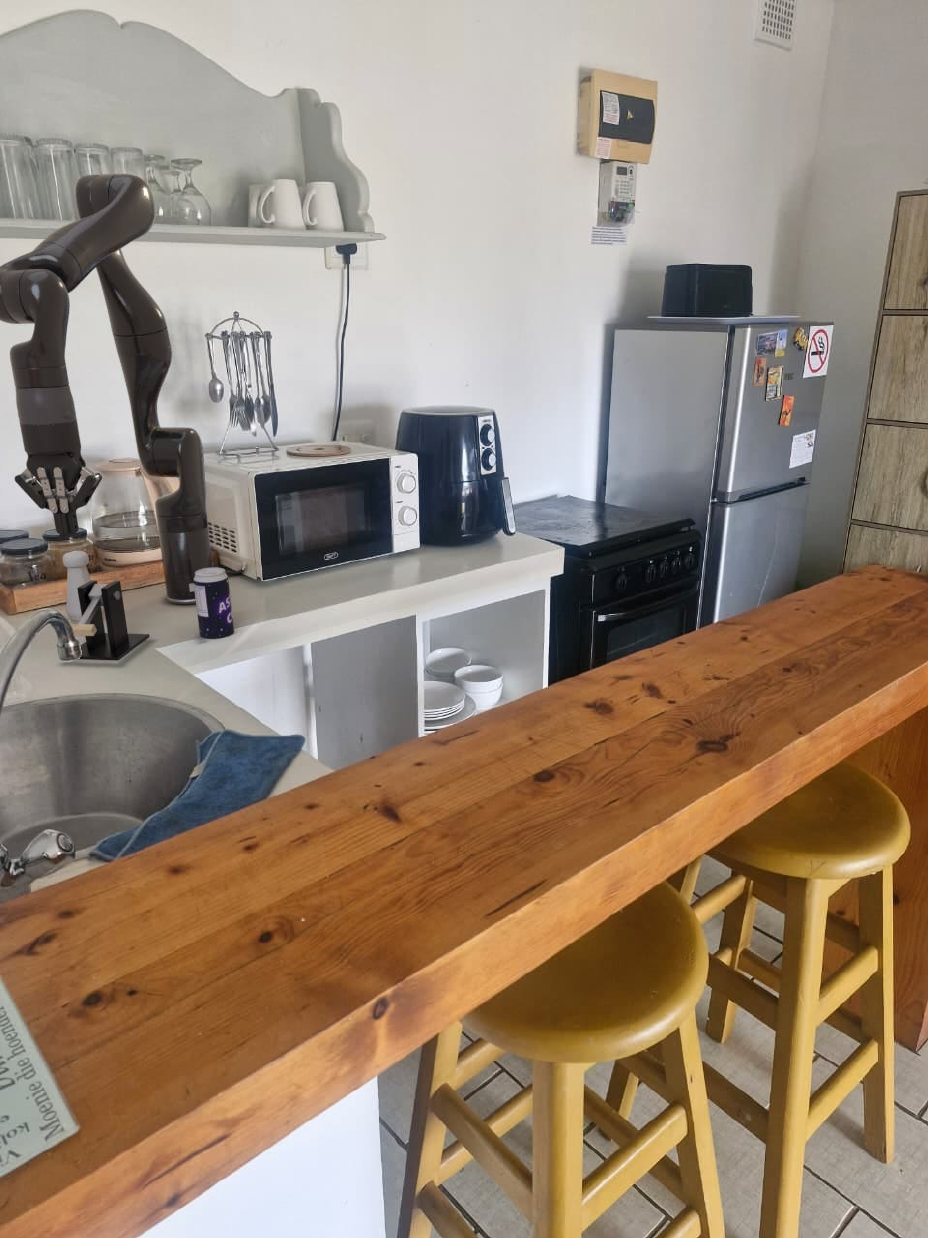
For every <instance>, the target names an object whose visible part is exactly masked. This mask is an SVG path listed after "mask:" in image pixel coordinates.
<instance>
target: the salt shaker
mask: <svg viewBox="0 0 928 1238" xmlns="http://www.w3.org/2000/svg"><path fill="white" fill-rule="evenodd" d="M89 563H90V557H89V554H88V553H87V552H86V551H82V550H73V551H69V552H66V553H64V555H63V556H62V564H63V566H64V567H66V568H67V575H66V576H67V578H66V579H67V580H66V606H65V607H66V610H65V612H66V614H67V616H68V617H69V619H70V620H72V621H77V622H79V621H80V620H81V618H82V614H81V608H80V602H79V596H78V590H77V588H78V587H80V586H82V585H84V584H86V583H88V582H89V581H91V580H92V579H91V577H90V573H89V570H88V568H87V565H89Z"/></svg>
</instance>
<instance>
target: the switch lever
mask: <svg viewBox="0 0 928 1238" xmlns="http://www.w3.org/2000/svg"><path fill="white" fill-rule="evenodd" d="M108 584H109V583H97V584H95V585H94V586H93V588H92V590H91V591H90V593H89V595H88V596H89V598H90V600H91V603H90V604H89V606H88V608H87V610H86V611H85V613H84V615H83V616H82V618H81V620H80V621H78V622H77V623H70V624H71V625H72V628H73V630H74V633H75V635H76V636H80V637H85V636H94V635H95V633H96V631H97V629H96V627H95V625H94V624H90V622H91V620H92V618H93V617H94V615H95V613H96V612H97V610H98V608H99V606H101V607H104V605H103V599H102V592H101V588H103V587H105V586H106V585H108Z"/></svg>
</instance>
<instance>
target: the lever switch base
mask: <svg viewBox="0 0 928 1238" xmlns="http://www.w3.org/2000/svg"><path fill="white" fill-rule="evenodd" d="M95 584H98V580H95V579H94V580H92V579H91V581H89V582H88V583H86V584H84V585H82V586H80V587H78V588H77V590H78V596H79V602H80V608H81V614H82V616H83V615H84V613H85V611H86V610H87V608H88V606H89V604H90V603H91V600H90V598H89V596H88V595H89V593H90V591H91V590H92V588H93V586H94V585H95ZM107 584H108V585H106V586H105V587H103V588H101V592H102V599H103V605H104V606H103V612H104V616H103V612H102V606H99V608H98V610H97V612H96V613H95V615H94V617H93V618H92V620H91V622H90V624H94V625H95V627H96V629H97V631H96V633H95V635H94V636H84V637H85V642H84V643H82V644H80V646H81V650H82V655H81V657H80V659H79V660H86V661H87V660H88V661H89V660H90V661H120V660H121V659H123V658H124V657H125V656H126V655H128V654H129V653H130V652H132V651H133V650H134V649H136V648H137V647H139V646H140V645H141V644H142V643H144V642H145V641H147V640H148V639H149V638H150V634H149V633H129V632H128V631H129V630H128V625H127V618H126V613H125V605H124V599H123V598H124V597H123V594H122V593H123V592H122V586H121V585H122V584H121V580H113V581H112V582H110V583H107ZM103 617H105V618H103ZM104 619H105V622H104ZM105 625H106V630H107V632H106V630H105Z"/></svg>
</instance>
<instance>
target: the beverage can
mask: <svg viewBox="0 0 928 1238" xmlns="http://www.w3.org/2000/svg"><path fill="white" fill-rule="evenodd" d="M225 572H226V570H225V568H222V567H215V568H204V569H200V570H198V571H196V572H195V577H194V580H193V581H194V590H195V598H196V604H195V606H196V614H197V615H196V616H197V622H198V630H199V637H200V638H202V639H204V640H205V639H207V640H219V639H225V638H227V637H231V636H232V635H233V634H234V633H235V629H234V619H233V611H232V610H233V609H232V608H233V607H232V599H231V592H230V591H231V590H230V581H229V575H226V573H225Z"/></svg>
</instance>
